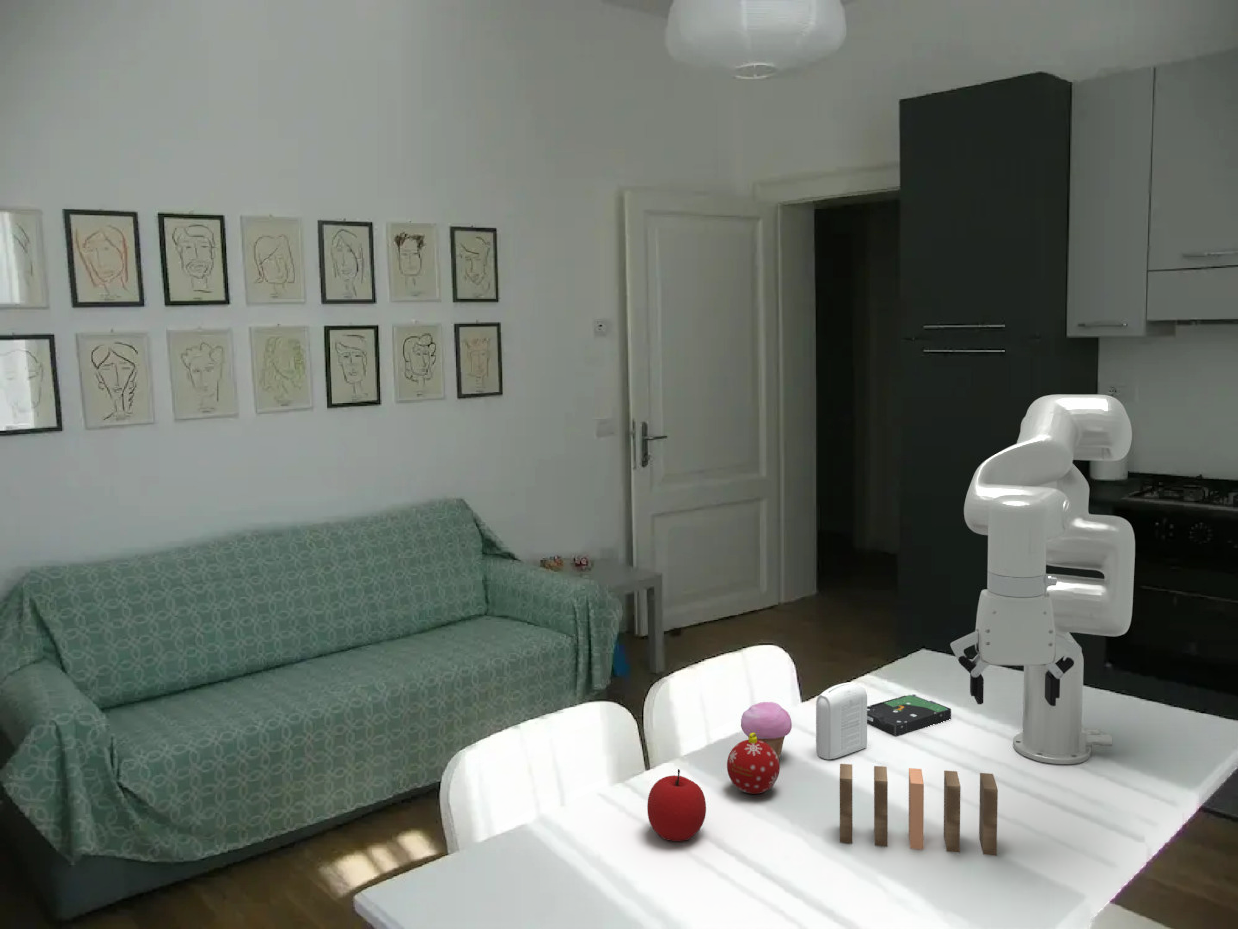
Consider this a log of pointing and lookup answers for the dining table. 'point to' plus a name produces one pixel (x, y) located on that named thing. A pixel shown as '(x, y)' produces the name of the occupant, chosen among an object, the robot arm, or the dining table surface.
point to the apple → (676, 808)
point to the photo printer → (841, 720)
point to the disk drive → (906, 714)
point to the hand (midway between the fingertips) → (1014, 701)
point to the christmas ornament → (753, 766)
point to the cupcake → (767, 724)
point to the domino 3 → (916, 808)
